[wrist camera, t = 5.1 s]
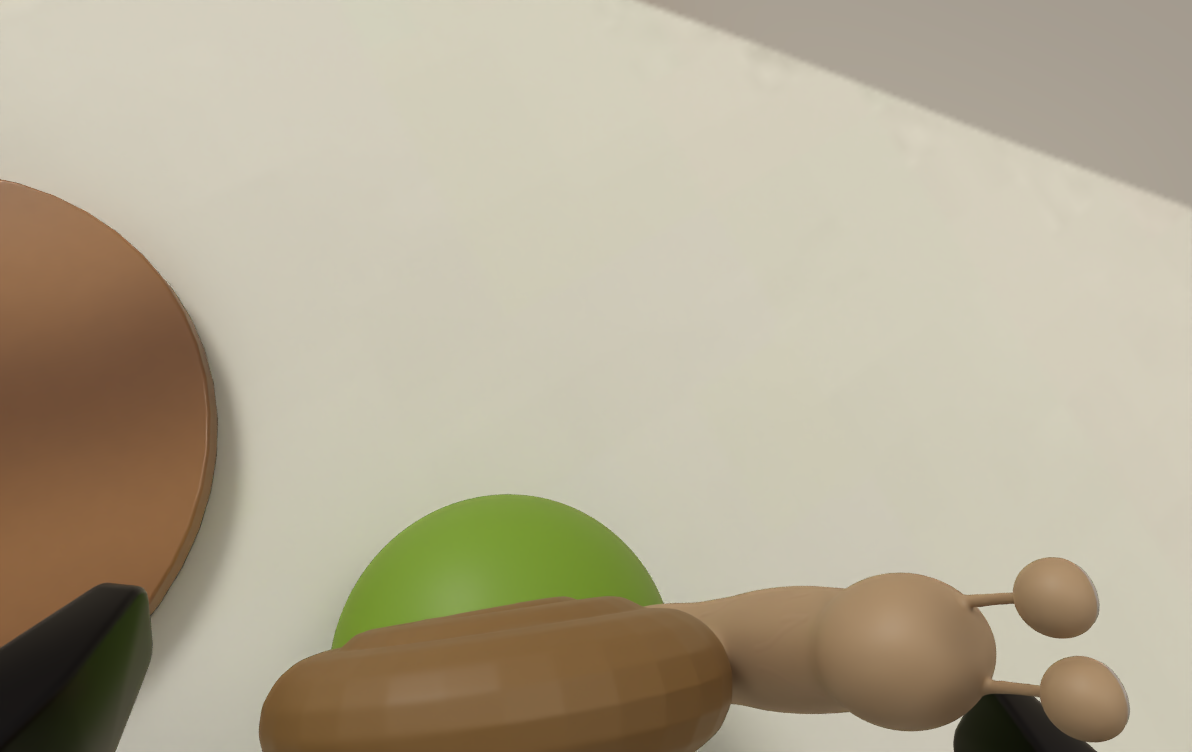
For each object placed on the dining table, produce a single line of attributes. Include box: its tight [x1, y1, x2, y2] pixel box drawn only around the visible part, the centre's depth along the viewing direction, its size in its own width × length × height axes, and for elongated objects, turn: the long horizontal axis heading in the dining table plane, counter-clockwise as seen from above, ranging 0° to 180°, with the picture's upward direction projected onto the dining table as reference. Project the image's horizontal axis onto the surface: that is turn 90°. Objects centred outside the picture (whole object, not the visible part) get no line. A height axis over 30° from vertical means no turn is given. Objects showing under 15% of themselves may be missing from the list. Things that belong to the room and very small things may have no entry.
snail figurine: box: [259, 494, 1130, 752], centre depth 11 cm, size 5×6×12 cm
